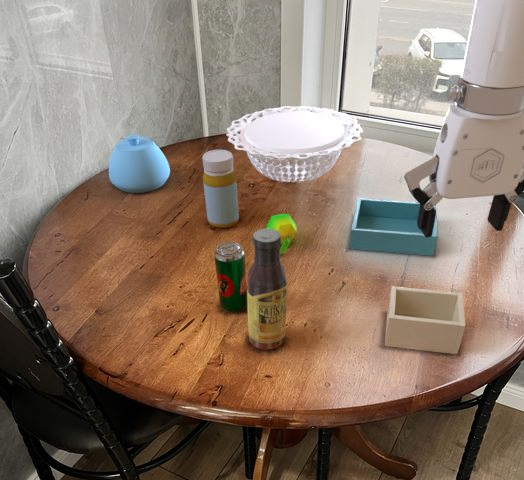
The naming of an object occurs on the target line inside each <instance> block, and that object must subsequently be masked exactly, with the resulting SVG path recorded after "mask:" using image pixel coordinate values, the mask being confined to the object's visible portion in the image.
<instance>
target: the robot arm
mask: <svg viewBox="0 0 524 480" xmlns="http://www.w3.org/2000/svg"><path fill="white" fill-rule="evenodd" d="M445 92H446V93H445V99H446V101H448V102H449V101H452V102H454V103H455V104H451V105H450V106H449V108H448V110H447V112H446V114H445V117H444V120H443V122H442V125H441V127H440V131H439V134H438V137H437V140H436V143H435V148H434V151H433V156H432V158H431V159H428V160H427V161H425V162H423V163H422V164H420V165H418V166H416V167H415V168H412V169H411V170H409V171H406V172H405V173H404V176H403V178H404V181H405V183H406V185H407V187H408V191H409V192H410V194H411V195H412V197H413V198H414V199H415V200H416V202H419V203H420V208H419V213H418V219H417V226H418V228H419V229H421V231H422V233H423V234H424V236H425V237H426V238H428V237H431V236H432V232H433V227H434V222H435V217H436V210H435V208H434V206H435V205H436V206H437V205H438V203H440V201H442V200H443V199H448V200H458V199H459V200H460V199H470V198H471V199H472V198H478V197H480V198H481V197H483V198H484V197H492V196H493V197H492V201H491V205H490V209H489V212H488V216H487V222H488V223H489V224H490V225H491V226H492V228H493V229H494V230H495V231H497V232H500V231H503V228H504V225H505V222H506V221H507V220H508V216H509V213H510V210H511V207H512V204H514V203H516V202H517V201H518V200H519V196H520V195H521V194H523V193H524V0H475V4H474V9H473V14H472V19H471V24H470V28H469V34H468V39H467V44H466V49H465V54H464V61H463V65H462V69H461V75H460V77H459V78H458V79H457V84H456V85H454V86H453V87H448V88H447V89H446V91H445ZM425 178H429V179H428V180H429V183H428V184H427V185H426V186H425V187H424V188H423V189H422V188H421V185H420V182H421V181H422V180H424V179H425Z"/></svg>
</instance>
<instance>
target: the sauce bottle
mask: <svg viewBox="0 0 524 480" xmlns="http://www.w3.org/2000/svg"><path fill="white" fill-rule="evenodd" d="M252 244H253V246H254V257H253V263H252V265H251V266H250V267H249V270H248V272H247V275H246V282H247V333H248V338H249V342H250V344H251V345H252V346H253V347H254V348H256V349H257V350H258V349H259V350H263V351H264V350H266V351H267V350H269V351H270V350H274V349H277V348H279V347H280V346H281V345H282V344H283V342H284V341H285V335H286V331H287V330H286V329H287V296H288V295H287V293H288V289H287V288H288V283H287V282H288V281H287V276H286V273H285V272H286V271H285V268H284V265H283V264H282V262H281V255H280V248H281V235H280V233H279V232H278V231H276V230H274V229H267V228H261V229H258V230H256V231H254V233H253V235H252Z"/></svg>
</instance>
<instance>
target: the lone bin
mask: <svg viewBox="0 0 524 480" xmlns="http://www.w3.org/2000/svg"><path fill="white" fill-rule="evenodd" d="M465 315H466V314H465V301H464V293H463V292H455V291H442V290H433V289H424V288H414V287H413V288H412V287H403V286H391V288H390V294H389V299H388V307H387V313H386V324H385V325H386V326H385V335H384V336H385V337H384V338H385V339H384V346H385V347H389V348H390V347H391V348H399V349H408V350H416V351H425V352H426V351H427V352H434V353H441V354H443V353H444V354H451V355H458V354H459V350H460V347H461V343H462V341H463V336H464V333H465V330H466V327H467V325H466V316H465Z"/></svg>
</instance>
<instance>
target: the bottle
mask: <svg viewBox="0 0 524 480" xmlns="http://www.w3.org/2000/svg"><path fill="white" fill-rule="evenodd" d="M202 166H203V175H202V181H203V182H202V183H203V184H202V185H203V191H204V200H205V208H206V209H205V210H206V217H207V222H208V224H209V225H211V226H212V227H213V228H216V229H217V228H218V229H228V228H232V227H233V226H235V225H236V224H237V223H238V222H239V220H240V213H239V212H240V210H239V197H238V183H237V175H236V173H235V171H234V156H233V152H231V151H229V150H226V149H213V150H209V151H206V152H204V153H203V155H202Z"/></svg>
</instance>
